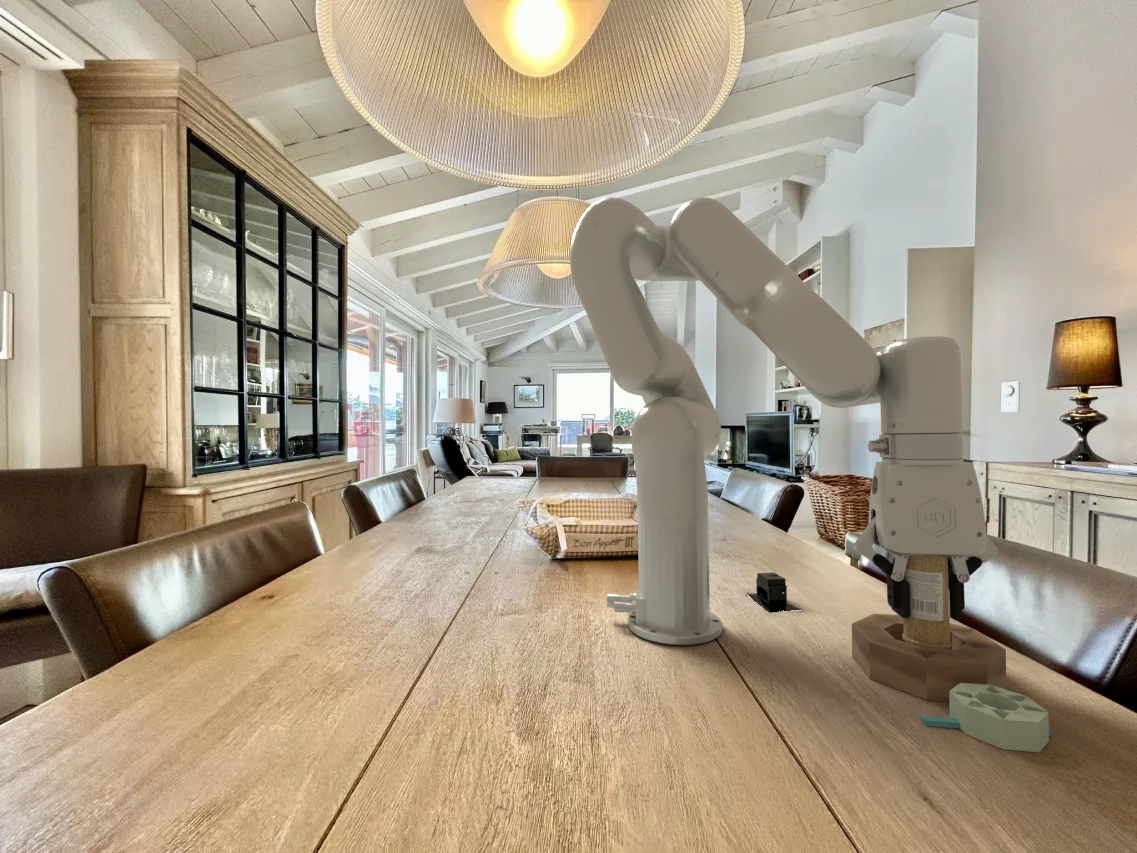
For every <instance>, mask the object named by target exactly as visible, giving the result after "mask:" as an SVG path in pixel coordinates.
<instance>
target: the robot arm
mask: <svg viewBox="0 0 1137 853" xmlns="http://www.w3.org/2000/svg"><path fill="white" fill-rule="evenodd" d="M570 242H571V243H570V248H569V249H570V250H569V265H570V267H569V268H570V273H571V277H572V282H573V284H574V286H575V291H576V292H577V295H578V297H579V300H580V302H581V305H582V307H583V309H584V311H585V313H586V316H587V318H588V320H589V322H590V325H591V328H592V330H593V332H594V336H595V337H596V340H597V343H598V345H599V347H600V349H601V352H602V354H603V357H604V359H605V362H606V363H607V366H608V368H609V371H610V373H611V376H612V379H613V380H614V382H615V383H616V384H617V386H618V387H619V388H620V389H621V390H623V392H624V391H625V392H626V393H628V394H632V395H636V396H639V397H642V400H643V401H644V404H645V405H644V406H643V407H642V408H641V409H640V410H639V412H638V413H637V415H636V417H635V418H634V422H633V423H632V424H633V425H632V429H631V436H630V437H631V449H632V450H631V451H632V458H633V462H634V470H635V476H636V477H635V480H636V495H637V496H636V497H637V498H636V499H637V500H636V501H637V504H636V505H637V531H638V532H637V544H638V545H637V546H638V548H637V549H638V551H637V552H638V586H637V587H636V592H635V591H634V592H632V591H630V592H629V594H621V593H609V592H608V593H607V596H606V605H607V606H606V607H607V608H613V612H614V613H629V615H628V616H627V617H628V618H627V622H628V623H627V625H628V628H629V630H630V631H631V632H632V633H633V634H635V635H637V636H639V637H640V638H642V639H645V640H648V641H650V642H654V643H658V644H659V643H660V644H665V645H671V646H672V645H674V646H675V645H676V646H691V645H692V646H693V645H699V644H705V643H708V642H711V641H713V640H715V639H717V638H718V637H719V636H721V634H722V632H723V622H722V620H721V618H720V617H719V616H718V615H717V614H715V613H713V612H711V608H710V607H711V606H710V605H711V604H710V596H711V595H710V539H709V538H710V537H709V536H710V535H709V534H710V532H709V531H710V530H709V529H710V527H709V525H710V524H709V520H710V519H709V495H708V493H709V492H708V480H707V471H706V465H705V464H706V462H705V459H706V458H708V457H709V456H710V455H711V454H712V453H713V452H714V451H715V450H716V449H717V447H718V445H719V443H720V440H721V435H722V426H721V421H720V418H719V415H718V413H717V410H716V409H715V406H714V405H713V402H712V399H711V398H710V395H709V394H708V391H707V389H706V387H705V385H704V383H703V382H702V379H701V377H700V374H699V372H698V370H697V369H696V366H695V364H694V361H693V360H692V358H691V357H690V355H689V354H688V352H687V350H686V349H685V348H684V347H683V346H682V345H681V344H680V343H679V342H678V341H676V340H675V339H673V338H671V337H669V336H667V335H666V334H664V333H663V331H661V329H660V327H659V326H658V324H657V322H656V321H655V318H654V316H653V314H652V312H651V311H650V310H651V309H650V308H649V305H648V303H647V300H646V298H645V297H644V295H643V292H642V290H641V289H640V287H639V285H638V283H637V282H636V281H635V280H638V281H647V282H648V281H651V282H667V281H668V282H672V281H673V282H680V281H681V282H685V281H686V282H689V281H690V282H695V281H697V282H698V281H700V282H701V283H702V284H703V286H705V287H706V288H707V289H708V290H709V292H711V294H712V295H713V296H714V298H715V297H716V299H717V300H718V301H719V302H720V303H721V304H722V305H723V307H725V309H726V310H727V311H728V312H729V313H730V314H731V316H733V317H734V318H735V320H737V321H738V323H739V324H740V325H742V326H743V327H745V328H747V329H748V330H750V331H751V333H753V334H754V335H755V336H756V337H757V338H758V339H759V340H760V341H761V342H762V343H763V344H764V346H766V347H767V349H768V350H769V351H770V352H771V353H772V354H774V356H775V357H776V358H777V359H778V360H779V361H780V362H781V363H782V365H784V366H785V367H786V369H787V370H788V371H789V372H790V373H791V374H792V375H793V376H794V377H795V378H796V379H797V380H798V382H800V384H801V385H802V386H803V387H804V388H805V389H806V390H807V391H808V392H809V394H810V395H812V397H814V398H815V399H817V400H818V401H819V402H820V403H822V404H823V405H826V406H827V407H831V408H837V409H846V408H854V407H860V406H863V405H864V406H866V405H873V404H880V405H879V406H880V432H881V434H879V435H878V436H879V438H878V439H877V438H876V439H875V440H869V441H868V443H867V444H868V445H867V449H868V451H869V453H876V454H879V457H880V458H881V461H877V462H875V464H874V465H875V466H874V469H873V473H872V474H873V476H872V480H871V487H870V494H869V505H868V506H869V508H868V510H869V511H868V524H867V526H866V527H865V528H864V530H862V532H861V534H860V535H859V536H858V538H857V539H856V540H855V541H854V542H853V545H852V548H853V550H854V551H855V552H857V553H858V554H860V555H862V556H863V557H864V558H866V559H867V560H869V561H870V562H872V564H873V565H875V566H876V567H877V568H878V569H879V570H880V571H881V572H882V573H883V574H884V575H885V576H886V598H887V600H886V601H887V604H888V606H889V607H890V608H891V609H892V611H893V612H894V613H895V614H896V615H900V616H901V617H902V618H909V617H910V585H909V583H908V582H907V581H905V575H904V574H905V570H906V565H907V561H908V556H941V557H948V558H947V559H948V583H949V584H948V587H949V591H950V619H953V620H955V621H962V620H963V610H965V606H966V604H965V584H966V583H968V582H969V581H970V579H971V576H972V575H973V574H974V573H975V572H976V571H977V570H978V569H979V568H981V567H982V565H983V564H985V563H987V562H988V561H990V560H991V559H994V557H996V556H998V555H999V553H1000V549H999V548H998V547H997V546H996V544H994V542H993V541H992V539H991V538H990V536H988V535H987V530H986V529H987V526H986V519H985V511H984V504H983V497H982V493H981V489H980V484H979V478H978V476H977V473H976V470H975V467H974V463H973V462H965V461H964V436H963V435H964V434H963V430H964V427H963V399H962V398H963V396H962V394H963V393H962V361H961V358H962V357H961V348H960V345H959V343H958V342H957V341H956V340H955V339H953V338H951V337H947V336H942V335H941V336H939V335H937V336H933V335H931V336H920V337H919V336H918V337H917V336H916V337H909V338H903V339H902V338H901V339H898V340H894V341H891V342H888V343H887V344H885V345H883V347H872V346H871V344H870V343H869V342H868V341H867V340H866V339H865V338H864V337H863V336H861V334H860V333H859V332H858V331H857V330H856V329H855V328H854V327H853V326H852V325H851V324H849V322H848V321H847V320H845V318H843V316H841V315H840V314H839V313H838V312H837V311H836V310H835V309H834V308H833V307H832V306H831V305H830V304H829V303H828V302H827V301H825V299H823V298H822V297H821V296H820V295H819V294H818V293H817V292H816V291H814V290H813V289H812V288H811V286H809V285H808V284H806V283H805V282H804V280H802V279H801V277H799V275H798V274H797V273H796V272H795V271H794V270H792V268H790V267H789V266H788V265H787V264H786V263H785V262H784V261H783V260H782V259H780V257H779V256H777V254H776V253H774V252H773V251H772V250H771V248H769V246H767V245H766V244H765V243H764V242H763V241H762V240H761V239H760V238H759V237H758V236H757V235H756V234H755V233H754V232H752V231H751V230H750V228H749V227H747V226H746V224H744V223H743V222H742V221H741V220H740V218H738V217H737V216H736V215H735V214H734V213H733V212H732V211H731V210H730V209H729V208H728V207H727V206H725V204H723V203H721V202H720V201H719V200H716V199H714V198H711V197H696V198H693V199H691V200H688V201H686V202H684V204H682V205H681V206H680V207H679V208H678V209H677V210H676V212H675V213H674V215H673V217H672V219H671V221H670V224H669V225H663V226H662V225H657V224H655V223H654V222H653V221H652V220H651V219H650V218H649V217H648V216H647V215H646V214H645V213H644V212H643V211H642V209H640V208H639V207H638V206H636V205H634V204H633V203H631V202H630V201H628V200H625V199H622V198H618V197H605V198H600V199H599V200H597V201H594V202H593V203H592V204H591V205H589V206H588V207H587V208H586V210H585V211H584V213H582V215H581V217H580V218H579V221H578V222H577V224H576V227H575V229H574V232H573V234H572V238H571V241H570ZM874 545H876V546H878V547H881V548H882V549H884V550H885V552H884V555H882V553H880V552H878V551H876V550H875V549H874V547H873V546H874Z"/></svg>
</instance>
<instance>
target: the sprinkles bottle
mask: <svg viewBox="0 0 1137 853" xmlns="http://www.w3.org/2000/svg"><path fill="white" fill-rule="evenodd" d="M947 558H948V557H941V556H908V561H907V565H906V570H905V574H904V575H905V581H907V582H908V583H909V585H910V617H909V618H903V622H904V633H903V640H905V641H906V642H907V643H910V644H913V645H917V646H920V647H923V648H935V649H950V648H951V645H952V642H951V641H950V623H951V621H950V619H951V617H950V591H949V587H948V584H949V583H948V559H947Z"/></svg>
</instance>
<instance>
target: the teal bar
mask: <svg viewBox="0 0 1137 853" xmlns="http://www.w3.org/2000/svg"><path fill="white" fill-rule="evenodd" d="M920 716H921V722H922V723H923V725H925V726H926V727H935V728H936V727H937V728H938V727H939V728H949V729H960V722H959V721H958V720H957V719H956V718H950V716H949V717H948V716H947V717H944V716H935V715H934V716H931V715H923V714H921V715H920ZM1052 734H1053V731H1052V729H1051V728H1050V727H1049V737H1050V736H1053V735H1052Z"/></svg>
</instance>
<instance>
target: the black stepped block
mask: <svg viewBox="0 0 1137 853" xmlns="http://www.w3.org/2000/svg"><path fill="white" fill-rule="evenodd" d="M756 576H757V578H756V579H755V580H756V582H755V583H756V592H757V593H753V594H752V593H751V594H748V595H749V596H750V597H751V598H752V599H753V600H754V601H755V602H757V603H758V604H759V605H760V606H762V607H763V608H764V609H763V608H762V607H761V608H762V609H763V610H765V612H767V611H768V612H767V613H769V614H770V613H772V614H773V612H774V613H782V612H781V611H783V610H784V611H791V610H801V609H802V608H800V607H799V606H797V605H796V604H794V603H793V602H791V601H790V600H788V594H787V593H788V591H787V590H788V588H787V585H786V582H787V581H786V578H785V577H783V576H781V575H779V574H778V573H776V572H757V574H756ZM787 600H788V601H787ZM754 601H753V602H754ZM789 601H790V602H791V603H790V602H789ZM755 602H754V603H755ZM792 603H793V604H794V605H793V604H792ZM758 604H757V605H758ZM759 605H758V606H759ZM795 605H796V606H797V607H796V606H795ZM760 606H759V607H760ZM798 607H799V608H798ZM779 611H780V612H779Z"/></svg>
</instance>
